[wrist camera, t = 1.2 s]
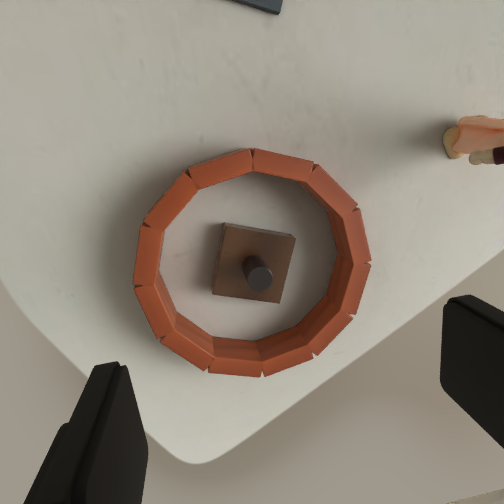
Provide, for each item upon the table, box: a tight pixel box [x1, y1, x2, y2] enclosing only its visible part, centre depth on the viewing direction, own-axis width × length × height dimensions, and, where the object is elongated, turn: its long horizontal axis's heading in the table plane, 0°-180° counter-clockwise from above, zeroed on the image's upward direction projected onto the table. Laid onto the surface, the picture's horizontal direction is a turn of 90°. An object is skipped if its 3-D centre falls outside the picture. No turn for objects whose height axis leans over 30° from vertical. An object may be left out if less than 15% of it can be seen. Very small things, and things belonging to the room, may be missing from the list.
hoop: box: [133, 148, 371, 377], centre depth 30 cm, size 19×19×3 cm
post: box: [212, 223, 295, 303], centre depth 29 cm, size 6×6×4 cm
